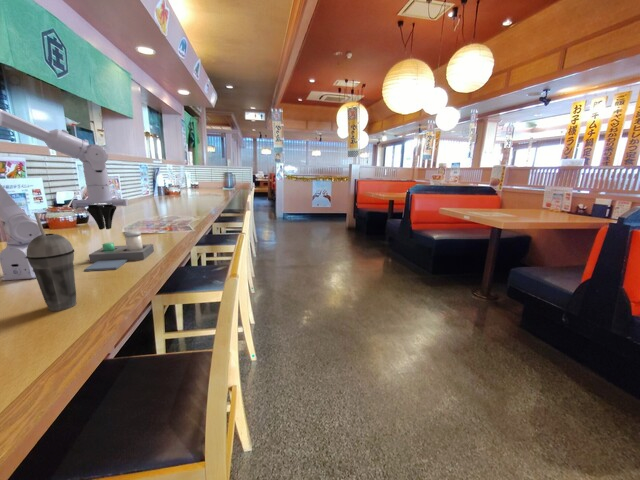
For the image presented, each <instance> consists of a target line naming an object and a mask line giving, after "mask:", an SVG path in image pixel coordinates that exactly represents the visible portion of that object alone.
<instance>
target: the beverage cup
mask: <svg viewBox="0 0 640 480" xmlns="http://www.w3.org/2000/svg"><path fill="white" fill-rule="evenodd" d="M33 215H34V218H35V220H36V221H37V223H38V226H39V229H40V232H41V234H42V235H39V236H37V237H36V238H34V239H33V240H32V241H31V242H30V243H29V245H28V247H27V256H26V258H27V259H28V261H29V263H30V265H31V267H32V268H33V270H34V273H35V276H36V278H35V279H36V281H37V284H38V286H39V289H40V291H41V294H42V297H43V299H44V302H45V304H46V306H47V308H48V309H47V310H48V311H49V312H59V311H60V312H61V311H64V310H68V309H71V308H73V307H75V306H76V305H77V288H76V279H75V267H74V266H75V265H74V260H75V259H74V258H75V249H74V248H73V245H72V243H71V241H70V240H69V239H67V238H66V237H64V236H63V235H60V234H57V233H45V230H44V227H43V224H42V221H41V219H40V216H39V214H38V212H34V213H33Z"/></svg>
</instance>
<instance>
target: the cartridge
mask: <svg viewBox="0 0 640 480" xmlns="http://www.w3.org/2000/svg"><path fill="white" fill-rule="evenodd" d="M123 234H124V235H123V236H124V240H125V245H126V246H127V251H137V250H142V249H143V246H142V245H143V240H142V231H140V230H130V231H125V232H124V233H123Z"/></svg>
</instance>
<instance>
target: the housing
mask: <svg viewBox="0 0 640 480" xmlns="http://www.w3.org/2000/svg"><path fill="white" fill-rule="evenodd" d="M142 246H143V249H142V250H137V251H127V246H126V244H125V245H114V248H115V250H114V251H103V246H102V247H100V248H99V249H96V250H95V251H94V252H91V253H90V254H89V253H88V260H89V263H92V264H94V263H95V262H97V261H103V260H121V259H128V261H142V260H143V261H144V260H146V259H147V258H148V257H150V255H152V254H153V253H154V252H155V248H154V244H151V243H150V244H142Z"/></svg>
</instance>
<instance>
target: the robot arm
mask: <svg viewBox="0 0 640 480" xmlns="http://www.w3.org/2000/svg"><path fill="white" fill-rule="evenodd" d="M0 127H2V128H5V129H9V130H12V131H13V132H14V131H15V132H17V133H20V134H22V135H24V136H28V137H31V138H34V139H36V140H39V141H41V142H44V143H45V144H46V147H48V148H49V149H50V150H53V151H54V152H55V151H56V152H57V153H60V154H63V155H66V156H69V157H71V158H74V159H78V160H79V161H80V162H82V168H83V174H84V180H85V186H86V191H87V196H88V199H74V200H71V203H72V207H73V208H78V207H87V208H86V211H87V212H88V214H90V216H91V217H92V218H93V219H94V221H95V223H96V225H97V227H98V229H99V230H101V231H102V230H104V229H106V230H110V229H112V224H113V220H114V219H113V218H114V215H115V211H116V210H117V207H119V206H120V207H121V206H123V207H126V206H130V205H129V204H130V203H129V199H128V198H113V197H112V193H111V188H110V180H109V174H108V170H107V164H106V162H108V159H109V154H108V153H107V151H106V150H105V149H104V148H103V147H102V146H101V145H99V144H95V143H94V144H89V142H90V141H89V140H87V139H81V138H78V137H76V136H74V135H72V134H69V131H68V130H66V129H57V128H56V129H52V130H49V129H46V128H43V127H41V126H39V125H37V124H36V123H35V124H34V123H33V122H30V121H28V120H26V119H24V118H21V117H20V116H17V115H15V114H13V113H10V112H8V111H6V110H4V109H1V108H0ZM0 221H1V223H2V229H3V231H4V233H5V234H6V235H8V236H9V238H8V239H7V240H6V243H5V244H6V247H5V248H4V249H2V250H0V265H1V271H2V273H3V277H1V278H0V281H9V280H10V281H12V280H13V281H14V280H28V279H37V278H36V276H35V273H34V270H33V268H32V267H31V265H30V263H29V261H28V259H27V258H26V256H27V247H28V245H29V243H30V242H31V241H32V240H33V239H34V238H36V237H37V236H39V235H42V234H41V232H40V229H39V226H38V223H37V220H36V219H33V218H31V217H30V216H29V215H28V214H27V213H26V211H24V210H23V209H22V207H21V206H19V205H18V203H17V202H16V201H15V200H14V199H13V197H12V196H11V195H10V193H8V191H7V190H6V189H5V188H4V186H3V185H2V184H1V183H0Z"/></svg>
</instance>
